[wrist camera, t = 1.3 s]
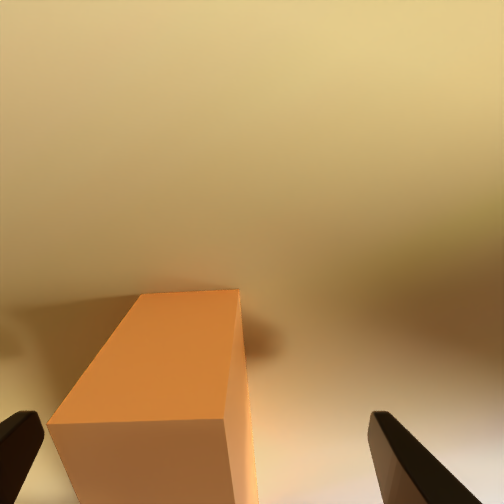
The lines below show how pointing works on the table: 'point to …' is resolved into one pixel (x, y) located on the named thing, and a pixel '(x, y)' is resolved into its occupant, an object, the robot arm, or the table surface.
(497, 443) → the table surface
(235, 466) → the orange rectangular bar
